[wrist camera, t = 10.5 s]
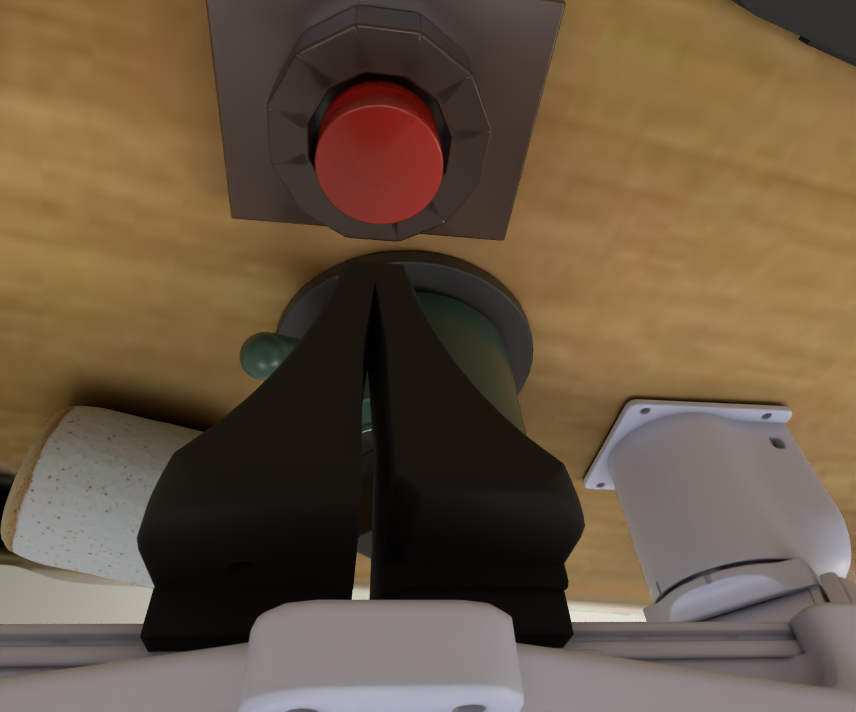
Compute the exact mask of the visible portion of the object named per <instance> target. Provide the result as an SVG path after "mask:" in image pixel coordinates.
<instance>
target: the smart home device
mask: <svg viewBox="0 0 856 712" xmlns="http://www.w3.org/2000/svg"><path fill="white" fill-rule="evenodd" d="M732 1H734V2H735V3H737V4H738V5H740V6H742V7H743V8H745V9H747V10H748V11H750V12H751V13H753V14H755V15H756V16H758V17H760V18H762V19H764V20H767V21H769V22H771V23H773V24H775V25H778V26H780V27H782V28H784V29H786V30H789V31H791V32H793V33H795V34H798V35H800V38H799V40H801V41H802V42H804V43H806V44H807V45H809V46H812V47H814V48H816V49H818V50H820V51H823V52H825V53H827V54H829V55H832V56H834V57H836V58H838V59H841V60H843V61H845V62H847V63H849V64H852V65H854V66H856V0H732Z"/></svg>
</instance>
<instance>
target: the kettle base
mask: <svg viewBox="0 0 856 712" xmlns="http://www.w3.org/2000/svg"><path fill="white" fill-rule="evenodd" d="M353 261H366V262H379V263H391V264H403V266H404V267H405V268H406V269H407V272H408V275H409V278H410V281H411V283H412V286H413V288H414V290H415V292H424V293H432V294H436V295H441V296H445V297H448V298H451V299H454V300H457V301H460V302H462V303H464V304H466V305H468V306H470V307H472V308H473V309H475V310H476V311H478V312H479V313H481V314H482V315H483V316H485V317H486V318H487V319H488V320H489V321H490V322H491V323H492V324H493V325H494V326H495V328H496V329H497V330H498V331H499V333H500V335H501V336H502V338H503V340H504V342H505V345H506V347H507V350H508V355H509V359H510V364H511V368H512V373H513V377H514V382H515V386H516V391H517V395H518V393H519V392H520V390H521V389H522V387H523V386H524V384H525V381H526V379H527V377H528V375H529V372H530V368H531V364H532V358H533V342H532V335H531V332H530V328H529V325H528V321H527V318H526V315H525V313H524V311H523V309H522V307H521V305H520V304H519V302H518V301H517V299H516V298H515V297H514V295H513V294H512V293H511V292H510V291H509V290H508V289H507V288H506V287H505V286H504V285H503V284H502V283H501V282H500V281H498V280H497V279H495V278H494V277H493V276H491V275H490V274H489V273H487V272H485V271H483V270H482V269H480V268H478V267H476V266H474V265H472V264H469V263H467V262H464V261H462V260H459V259H456V258H452V257H449V256H445V255H441V254H435V253H428V252H420V251H394V252H383V253H377V254H372V255H367V256H362V257H359V258H356V259H353ZM342 264H343V263H342ZM342 264H339V265H337V266H335V267H333V268H331V269H329V270H327V271H325V272H324V273H322V274H320V275H319V276H317V277H316V278H314V279H313V280H312V281H310V282H309V283H308V284H307V285H306V286H304V287H303V288H302V289H301V290H300V291H299V292H298V293H297V294H296V296H295V297H294V298H293V299H292V300H291V301H290V303H289V304H288V306H287V308H286V309H285V311H284V312H283V314H282V317H281V319H280V322H279V324H278V327H277V332H276V334H280V335H285V336H290V337H295V338H300V339H302V337H303V336H304V335H305V333H306V332H307V330H308V329H309V327H310V326H311V325H312V323H313V322H314V320H315V319H316V317H317V316H318V314H319V312H320V311H321V309H322V307H323V305H324V304H325V302H326V300H327V299H328V297H329V295H330V293H331V291H332V289H333V287H334V285H335V283H336V281H337V278H338V276H339V273H340V270H341V266H342Z"/></svg>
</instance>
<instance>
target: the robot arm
mask: <svg viewBox="0 0 856 712" xmlns="http://www.w3.org/2000/svg"><path fill="white" fill-rule="evenodd" d="M367 370H368V383H369V397H370V410H371V424H372V437H373V453H374V482H373V517H372V549H371V577H370V600H352V590H353V584H354V574H355V564H356V554H357V544H358V534H359V525H360V515H361V490H362V404H363V397H364V390H365V384H366V377H367ZM791 416H792V411H791V410H790V408H789V407H787V406H772V405H750V404H728V403H707V402H685V401H664V400H642V399H634V400H631V401H629V402H628V403H627V404H626V405H625V407H624V408H623V410H622V412H621V414H620V416H619V417H618V419H617V421H616V423H615V425H614V426H613V428H612V430H611V432H610V434H609V435H608V437H607V439H606V441H605V442H604V444H603V446H602V448H601V450H600V451H599V453H598V455H597V457H596V459H595V460H594V462H593V464H592V466H591V468H590V469H589V471H588V473H587V475H586V476H585V478H584V480H583V483H584V486H585V487H586V488H588V489H609V490H616V493H617V496H618V499H619V502H620V505H621V508H622V511H623V514H624V517H625V520H626V523H627V526H628V529H629V532H630V535H631V538H632V541H633V544H634V547H635V550H636V553H637V556H638V559H639V562H640V565H641V568H642V571H643V574H644V577H645V580H646V583H647V586H648V589H649V592H650V595H651V598H652V601H653V605H651V606H649V607H646V608H644V609H643V611H644V614H645V617H646V620H647V622H571V619H570V614H569V610H568V606H567V601H566V597H565V592H564V590H566V589H567V587H568V578H567V573H566V569H565V565H564V563H565V561H566V560H567V558H568V557H569V555H570V553H571V552H572V550H573V549H574V547H575V545H576V544H577V542H578V541H579V539H580V537H581V535H582V533H583V530H584V527H585V523H584V516H583V512H582V508H581V505H580V501H579V498H578V496H577V493H576V491H575V488H574V486H573V484H572V481H571V479H570V477H569V474H568V472H567V470H566V468H565V465H564V464H563V463H562V462H560V461H559V460H558V459H556V458H555V457H554V456H552V455H551V454H550V453H548V452H547V451H546V450H544V449H543V448H542V447H540V446H539V445H537V444H536V443H535V442H533V441H532V440H531V439H529V438H528V437H527V436H526V435H525V434H523V433H522V432H521V431H520V430H519V429H518V428H516V427H515V426H514V425H513V424H512V423H511V422H510V421H508V420H507V419H506V418H505V417H504V416H503V415H502V414H501V413H500V412H499V411H498V410H497V409H496V408H495V407H494V406H493V405H492V404H491V403H490V402H489V401H488V400H487V399H486V398H485V397H484V396H483V395H482V393H481V392H480V391H479V390H478V389H477V388H476V386H475V385H474V384H473V383H472V382H471V381H470V379H469V378H468V377H467V376H466V374H465V373H464V372H463V371H462V369H461V368H460V367H459V365H458V364H457V363H456V361H455V360H454V359H453V357H452V356H451V354H450V353H449V351H448V350H447V348H446V347H445V345H444V344H443V342H442V341H441V339H440V338H439V336H438V334H437V333H436V331H435V329H434V328H433V326H432V324H431V322H430V320H429V319H428V317H427V315H426V313H425V311H424V309H423V307H422V305H421V303H420V301H419V299H418V297H417V295H416V293H415V290H414V288H413V286H412V283H411V281H410V278H409V275H408V272H407V269H406V268H405V267H404V266H403V264H391V263H379V262H366V261H353V260H347V261H345V262H344V263H343V264H342V266H341V270H340V273H339V276H338V278H337V281H336V283H335V285H334V287H333V289H332V291H331V293H330V295H329V297H328V299H327V300H326V302H325V304H324V305H323V307H322V309H321V311H320V312H319V314H318V316H317V317H316V319H315V320H314V322H313V323H312V325H311V326H310V327H309V329H308V330H307V332H306V333H305V335H304V336H303V337H302V339H301V340H300V342H299V343H298V344H297V345H296V347H295V348H294V349H293V351H292V352H291V353H290V354H289V355H288V357H287V358H286V359H285V360H284V361H283V362H282V363H281V365H280V366H279V367H278V368H277V369H276V370H275V371H274V372H273V373H272V374H271V375H270V376H269V377H268V378H267V379H266V380H265V381H264V382H263V383H262V384H261V385H260V386H259V387H258V388H257V389H256V390H255V391H254V392H253V393H252V394H251V395H250V396H249V397H248V398H247V399H245V400H244V401H243V402H242V403H240V404H239V405H238V406H237V407H236V408H234V409H233V410H232V411H231V412H230V413H228V414H227V415H226V416H225V417H224V418H222V419H221V420H220V421H219V422H217V423H216V424H215V425H213V426H212V427H211V428H209V429H208V430H206V431H205V432H203V433H202V434H200V435H199V436H198V437H196V438H195V439H193V440H192V441H190V442H189V443H187V444H186V445H184V446H183V447H182V448H180V449H178V450H177V451H175V452H174V454H173V455H172V457H171V458H170V460H169V462H168V463H167V465H166V467H165V469H164V470H163V472H162V474H161V476H160V478H159V480H158V482H157V484H156V486H155V488H154V490H153V492H152V494H151V496H150V499H149V501H148V504H147V507H146V510H145V513H144V516H143V519H142V522H141V526H140V529H139V532H138V535H137V545H138V550H139V552H140V555H141V557H142V559H143V562H144V564H145V566H146V569H147V571H148V573H149V575H150V578H151V580H152V582H153V585H154V589H153V593H152V596H151V600H150V603H149V607H148V610H147V614H146V617H145V621H144V624H0V712H856V585H855V583H854V582H852V581H850V580H848V579H845V578H846V576H847V573H848V571H849V568H850V563H851V545H850V539H849V534H848V530H847V527H846V524H845V521H844V519H843V517H842V515H841V513H840V511H839V509H838V507H837V506H836V504H835V503H834V501H833V499H832V498H831V496H830V495H829V493H828V492H827V490H826V488H825V487H824V485H823V484H822V482H821V480H820V479H819V477H818V476H817V474H816V473H815V471H814V469H813V468H812V466H811V465H810V463H809V461H808V460H807V458H806V457H805V455H804V454H803V452H802V450H801V449H800V447H799V446H798V444H797V442H796V441H795V439H794V438H793V436H792V435H791V433H790V431H789V430H788V428H787V427H786V425H785V423H786V422H787V421H788V420H789V419H790V418H791Z"/></svg>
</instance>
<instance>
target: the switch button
mask: <svg viewBox="0 0 856 712" xmlns="http://www.w3.org/2000/svg"><path fill="white" fill-rule="evenodd" d="M443 167H444V166H443V155H442V149H441V143H440V137H439V131H438V126H437V123H436V120H435V118H434V116H433V114H432V112H431V110H430V109H429V107H428V106H427V104H426V103H425V102H424V101H423V100H422V99H421V98H420V97H419V96H418V95H417V94H415V93H414V92H412V91H411V90H409V89H408V88H406V87H404V86H401V85H399V84H396V83H392V82H387V81H367V82H363V83H359V84H357V85H354V86H351V87H350V88H348V89H346V90H344V91H343V92H342V93H340V94H339V95H338V96H337V97H336V98H335V99H334V100H333V101H332V102H331V104H330V105H329V106H328V108H327V110H326V112H325V114H324V116H323V119H322V122H321V126H320V131H319V137H318V142H317V148H316V154H315V170H316V175H317V179H318V182H319V184H320V187H321V188H322V190H323V192H324V194H325V195H326V197H327V198H328V199H329V200H330V202H331V203H332V204H333V205H334V206H335V207H336V208H338V209H339V210H340V211H341V212H343V213H344V214H346V215H348V216H350V217H351V218H353V219H356V220H359V221H362V222H366V223H371V224H392V223H397V222H400V221H403V220H406V219H408V218H410V217H412V216H414V215H416V214H417V213H419V212H420V211H421V210H423V209H424V208H425V207H426V206H427V205H428V204H429V203H430V202H431V200H432V199H433V197H434V196H435V194H436V192H437V191H438V189H439V186H440V183H441V180H442V176H443Z"/></svg>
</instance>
